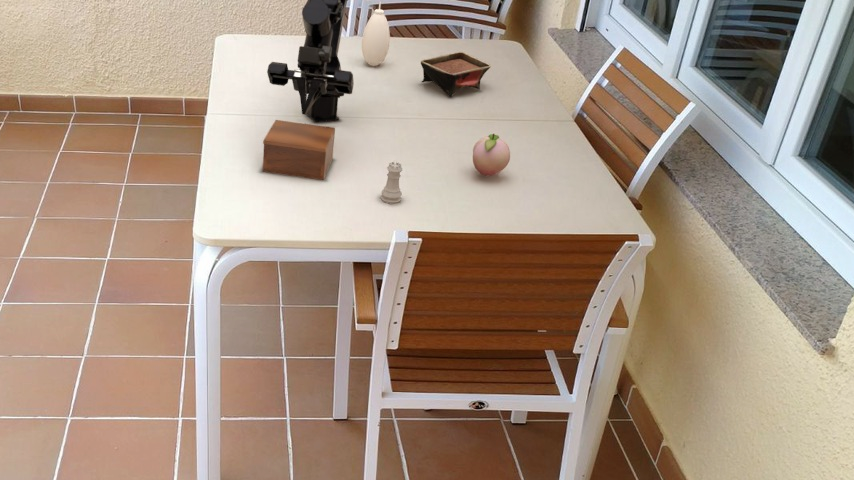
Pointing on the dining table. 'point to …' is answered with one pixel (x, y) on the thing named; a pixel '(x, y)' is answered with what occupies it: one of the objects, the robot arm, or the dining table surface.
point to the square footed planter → (454, 71)
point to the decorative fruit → (490, 155)
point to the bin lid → (299, 135)
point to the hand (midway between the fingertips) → (303, 113)
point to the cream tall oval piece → (376, 38)
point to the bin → (297, 161)
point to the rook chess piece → (392, 184)
